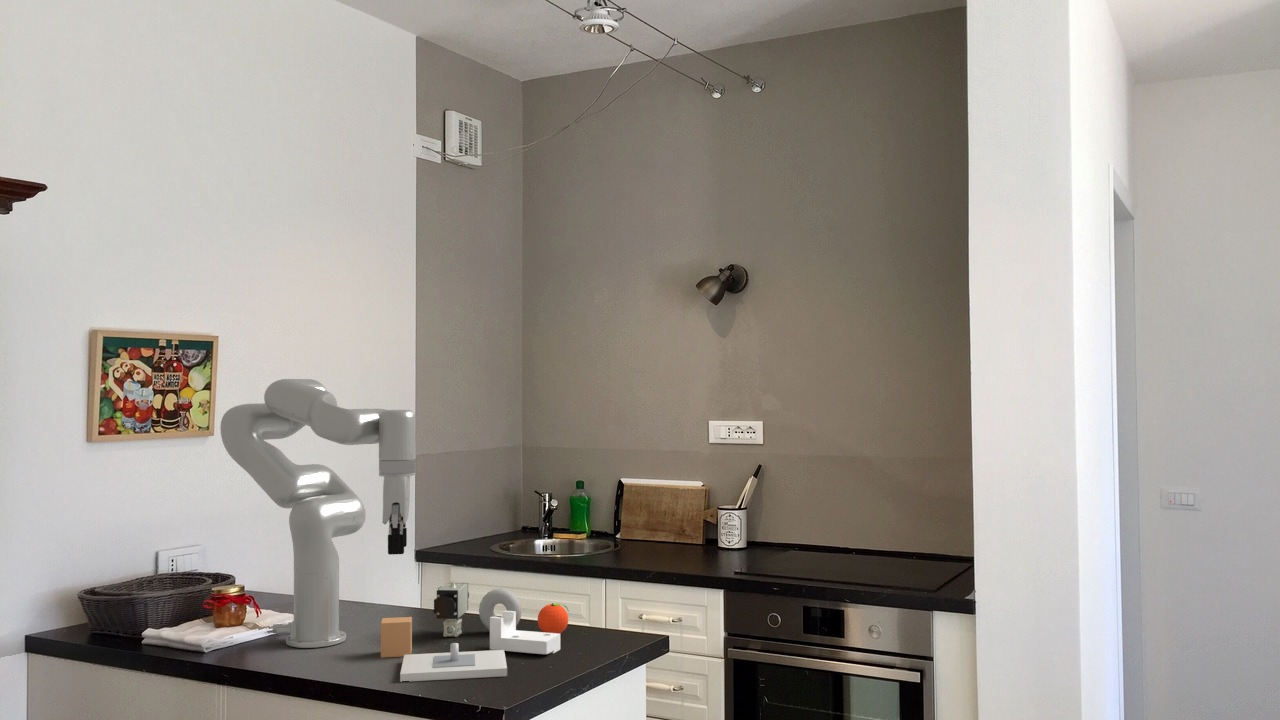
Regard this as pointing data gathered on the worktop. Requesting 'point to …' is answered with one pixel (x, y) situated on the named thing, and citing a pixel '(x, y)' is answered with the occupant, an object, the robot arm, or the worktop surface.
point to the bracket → (520, 637)
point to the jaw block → (396, 637)
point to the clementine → (553, 618)
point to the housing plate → (453, 665)
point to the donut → (498, 598)
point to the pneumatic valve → (451, 606)
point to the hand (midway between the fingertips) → (397, 550)
